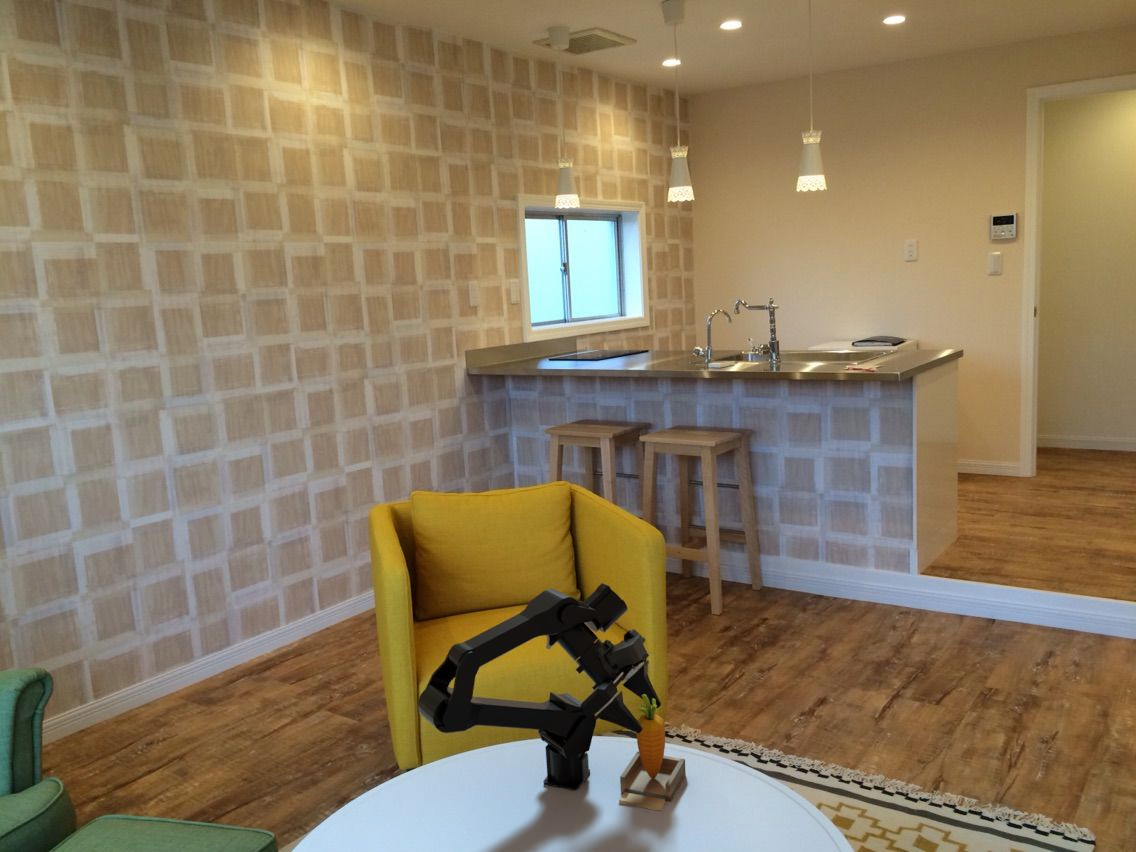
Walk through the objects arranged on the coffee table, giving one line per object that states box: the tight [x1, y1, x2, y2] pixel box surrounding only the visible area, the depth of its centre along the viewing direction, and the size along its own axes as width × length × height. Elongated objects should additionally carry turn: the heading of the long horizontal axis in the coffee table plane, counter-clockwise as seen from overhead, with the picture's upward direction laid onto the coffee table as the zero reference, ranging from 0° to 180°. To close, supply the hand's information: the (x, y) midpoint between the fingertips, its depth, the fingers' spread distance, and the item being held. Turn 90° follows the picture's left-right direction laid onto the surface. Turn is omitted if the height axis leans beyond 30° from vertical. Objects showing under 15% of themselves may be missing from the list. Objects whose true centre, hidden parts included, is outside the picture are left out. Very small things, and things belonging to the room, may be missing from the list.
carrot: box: [635, 694, 666, 779], centre depth 158 cm, size 5×5×15 cm
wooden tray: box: [618, 751, 687, 812], centre depth 158 cm, size 9×12×3 cm
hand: (650, 718), depth 158 cm, fingers open, 9 cm apart
